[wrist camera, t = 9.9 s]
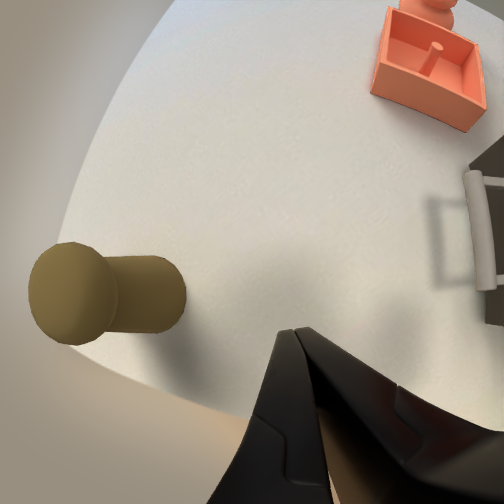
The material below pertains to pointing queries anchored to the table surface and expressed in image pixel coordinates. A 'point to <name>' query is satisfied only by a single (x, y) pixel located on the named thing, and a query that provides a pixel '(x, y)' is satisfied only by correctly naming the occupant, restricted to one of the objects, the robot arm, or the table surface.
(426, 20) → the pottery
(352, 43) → the table surface
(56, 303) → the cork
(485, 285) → the dark grey drawer
